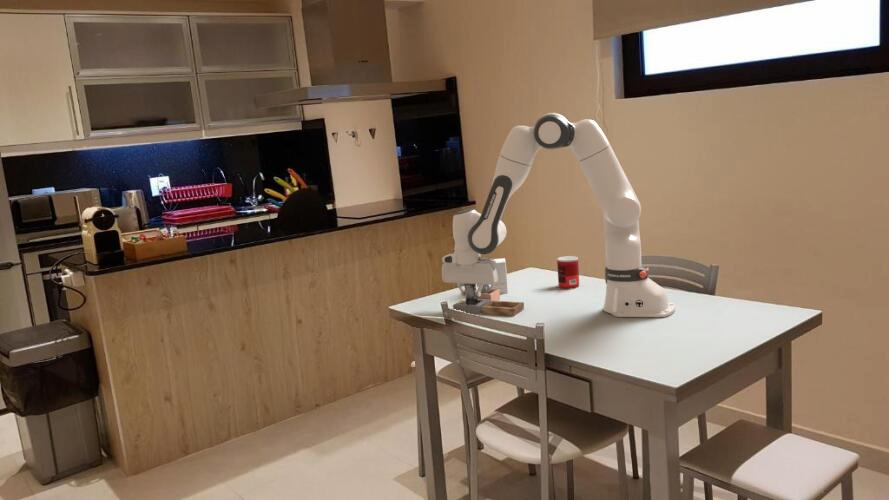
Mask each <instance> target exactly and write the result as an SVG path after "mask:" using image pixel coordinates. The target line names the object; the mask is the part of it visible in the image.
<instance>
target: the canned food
mask: <svg viewBox="0 0 889 500" xmlns="http://www.w3.org/2000/svg"><path fill="white" fill-rule="evenodd" d="M556 262H557V263H556V264H557V265H556V266H557V279H558V286H559V289H562V288H563V290H571V289H570V288H573V289H577V288H578V287H579V286H580V275H579V274H580V272H579V271H580V270H579V267H580V266H579V257H578V256H575V255H565V256H560V257H557V259H556ZM576 287H577V288H576Z"/></svg>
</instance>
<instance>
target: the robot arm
mask: <svg viewBox="0 0 889 500" xmlns="http://www.w3.org/2000/svg"><path fill="white" fill-rule="evenodd" d="M565 147H566V148H567V147H568V148H570V150H571V151H572V152H573V154H574V155H575V158H576V159H577V162H578V164H579V165H580V168H581V170H582V171H583V174H584V176H585V178H586V179H587V181H588V184H589V185H590V188H591V190H592V192H593V193H594V194H593V195H594V196H595V197H596V200H597V202H598V205H599V206H600V208H601V210H602V212H603V213H602V214H603V216H602V217H603V227H604V228H603V230H604V231H603V232H604V243H605V244H604V246H605V264H606V266H605V267H604V279H605V280H604V281H605V284H606V287H605V288H606V291H605V297H604V304H603V306H602V307H603V308H602V309H603V311H604V312H606V313H609V314H611V315H612V316H614V317H618V318H664V317H665V318H666V317H669V316H670V315H672V314H673V313H674V312H676V304H675V303H673V302H669V299H668V295H667V292H666V289H664V288H663V286H661V285H659V284H658V283H656V282H655V281H653V280H652V279H651V278H649V267H647V268H646V267H644V265H642V245H641V243H642V240H641V235H640V233H641V232H640V221H639V219H640V217H641V214H642V205H641V202H640V200H639V199H638V196H637V195H636V193H635V190H634V189H633V187H632V185H631V182H630V181H629V179H628V177H627V175H626V173H625V171H624V170H623V167H622V166H621V164H620V162H619V159H618V157H617V156H616V153H615V152H614V150H613V148H612V146H611V143H610V141H609V140H608V138H607V136H606V135H605V133H604V132H603V130H602V128H601V127H600V126H599V125H598V123H597V122H596V121H595V120H593V119H589V118H586V119H580V120H579V121H577V122H576V121H575V122H571V121H570V120H569V119H568V117H567V116H565V115H563V114H561V113H558V112H549V113H546V114H544V115H543V116H541V117H540V118H538V120H537V121H536V123H535V124H534V126H529V125H528V126H527V125H515V126H514V127H512V128H511V129H510V131H509V132H508V135H507V137H506V139H505V140H504V143H503V145H502V147H501V150H500V152H499V155H498V159H497V162H496V166H495V170H494V174H493V179H492V184H491V187H490V190H489V194H488V196H487V198H486V200H485V203H484V207H483V209H482V211H481V213H480V212H478V211H477V210H476V209H474V208H469V209H468V208H467V209H463V210H461V211H458V212H457V213H455V214H454V215H453V218H452V235H453V239H454V240H453V241H454V248H453V249H454V251H453V252H451V253H449V254H447V255H444V256H442V259H441V261H442V263H443V264H442V265H441V279H442V280H441V281H442V282H444V283H445V284H447V283H448V284H457V285H456V286H457V288H458V289H459V291H460V295H461V296H462V297H465V286H464V284H476V288H477V289H476V291H475V296H477V297H479V296H481V289H482V287H483V284H484V285H493V284H495V283H496V282H497V281H498V276H497V271H496V262H495V260H494V259H495V258H492V257H489V256H488V257H485V256H481V255H488V254H491V253H492V252H493V251H494V250H495V249H496V248H497V247H498V246H499V245H500V244H501V243H503V241H504V240H505V239H506V237H507V235H508V229H507V226H506V224H505V223H504V222H503V221H502V219H501V218H502V216H503V213H504V211H505V208H506V206H507V203H508V202H509V199H510V198H511V197H512V196H513V194H514V193H515V192H516V191H518V189H519V188H520V187H521V186H522V185H523V184H524V182H525V181H526V179H527V178H528V176H529V174H530V172H531V170H532V166H533V164H534V160H535V158H536V155H537V153H538V151H539V150H540V149H543V148H544V149H546V150H557V149H561V148H565ZM492 260H493V261H492Z"/></svg>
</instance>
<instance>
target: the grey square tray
mask: <svg viewBox="0 0 889 500" xmlns="http://www.w3.org/2000/svg"><path fill="white" fill-rule="evenodd" d="M488 302H490V299H477V304H473V305H468V304H466V298H463V299H461V300H459V301H458V302H455V303H454V304H452V307H453V308H452V309H456V310H461V311H465V312H469V313H468V314H478V315H479V314H482V308H481V307H482V306H483V305H485V304H487V303H488Z"/></svg>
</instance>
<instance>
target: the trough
mask: <svg viewBox="0 0 889 500" xmlns="http://www.w3.org/2000/svg"><path fill="white" fill-rule="evenodd" d="M524 305H525V303H524V301H523V302H522V301H505V300H499V301H490V302H488V303H487V304H485V305H483V306H482V307H481V308H482V312H481V314H482V315H495V316H509V317H515V316H517V315H518V314H520V313H521V312H522V311H524V310H525V306H524Z"/></svg>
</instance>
